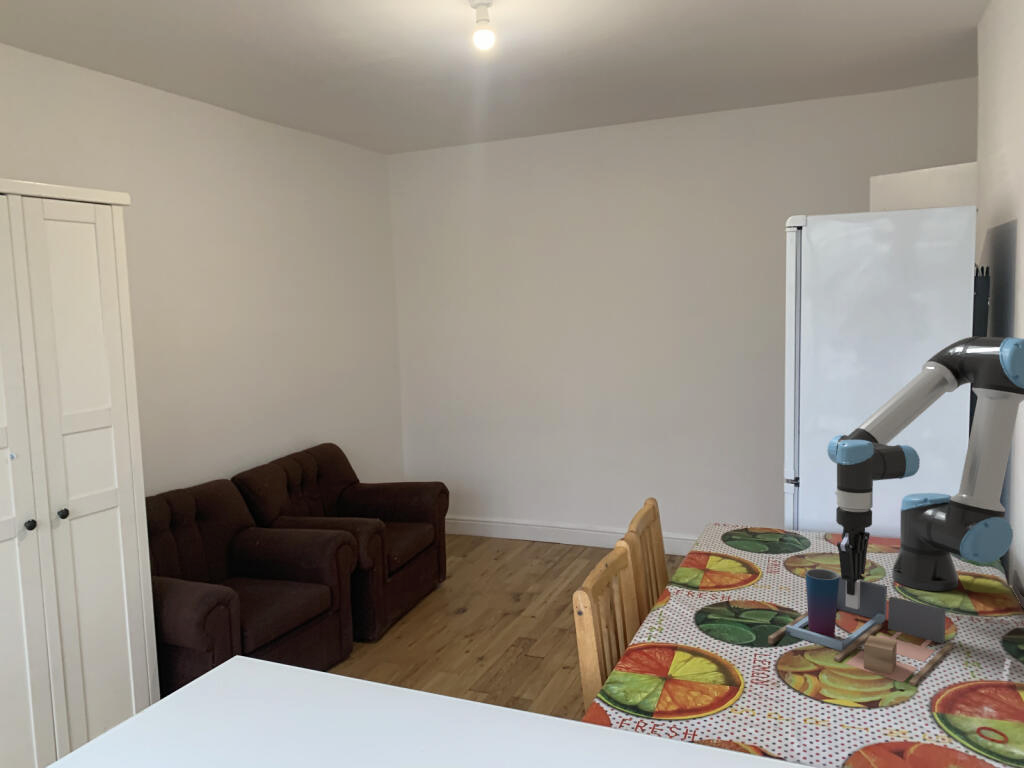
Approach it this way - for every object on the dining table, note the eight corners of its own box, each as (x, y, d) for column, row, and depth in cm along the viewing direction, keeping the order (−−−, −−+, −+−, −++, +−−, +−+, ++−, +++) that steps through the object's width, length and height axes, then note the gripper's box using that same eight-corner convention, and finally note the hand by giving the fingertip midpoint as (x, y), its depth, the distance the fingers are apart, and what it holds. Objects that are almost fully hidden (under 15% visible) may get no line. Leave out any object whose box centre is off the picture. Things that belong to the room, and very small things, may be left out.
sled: (832, 605, 185) (833, 573, 184) (886, 619, 176) (887, 586, 175) (785, 637, 168) (785, 602, 167) (841, 654, 159) (842, 617, 158)
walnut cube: (869, 658, 156) (869, 635, 155) (896, 664, 153) (896, 640, 152) (863, 668, 152) (864, 644, 151) (891, 674, 149) (892, 650, 148)
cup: (841, 648, 163) (842, 580, 161) (808, 646, 164) (808, 579, 162) (834, 634, 169) (835, 569, 168) (802, 632, 171) (802, 568, 169)
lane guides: (815, 612, 181) (815, 606, 181) (953, 650, 160) (953, 643, 160) (768, 643, 166) (768, 636, 166) (914, 690, 144) (914, 682, 144)
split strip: (890, 631, 170) (891, 596, 170) (944, 645, 162) (945, 609, 162) (844, 668, 154) (845, 630, 153) (902, 687, 146) (903, 647, 145)
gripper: (849, 499, 182) (847, 595, 184) (825, 510, 173) (824, 610, 175) (882, 504, 177) (880, 603, 179) (859, 516, 168) (857, 619, 170)
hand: (852, 606), depth 177 cm, fingers closed
